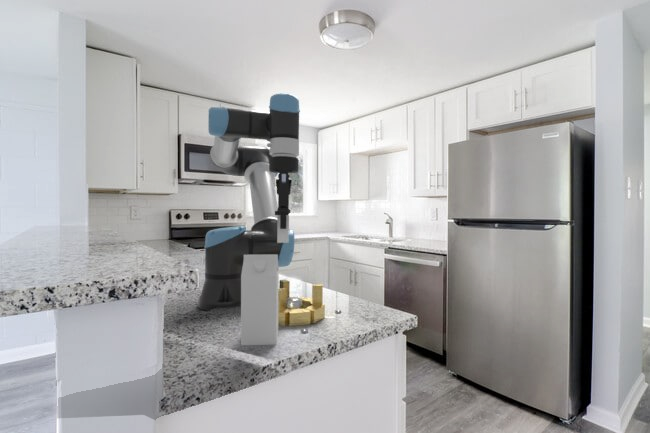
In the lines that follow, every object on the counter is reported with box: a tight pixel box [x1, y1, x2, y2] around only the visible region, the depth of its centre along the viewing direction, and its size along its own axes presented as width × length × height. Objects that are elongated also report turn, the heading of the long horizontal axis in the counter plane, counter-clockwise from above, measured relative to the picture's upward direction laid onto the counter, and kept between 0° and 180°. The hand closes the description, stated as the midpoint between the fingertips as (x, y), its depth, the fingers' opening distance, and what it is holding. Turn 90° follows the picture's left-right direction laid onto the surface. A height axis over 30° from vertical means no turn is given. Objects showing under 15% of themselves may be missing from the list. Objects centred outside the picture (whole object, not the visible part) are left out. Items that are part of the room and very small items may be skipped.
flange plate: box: [286, 296, 342, 334], centre depth 88 cm, size 20×20×6 cm
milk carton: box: [240, 255, 280, 346], centre depth 72 cm, size 7×7×19 cm
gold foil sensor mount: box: [278, 279, 326, 327], centre depth 88 cm, size 15×15×8 cm
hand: (283, 239), depth 89 cm, fingers open, 13 cm apart
